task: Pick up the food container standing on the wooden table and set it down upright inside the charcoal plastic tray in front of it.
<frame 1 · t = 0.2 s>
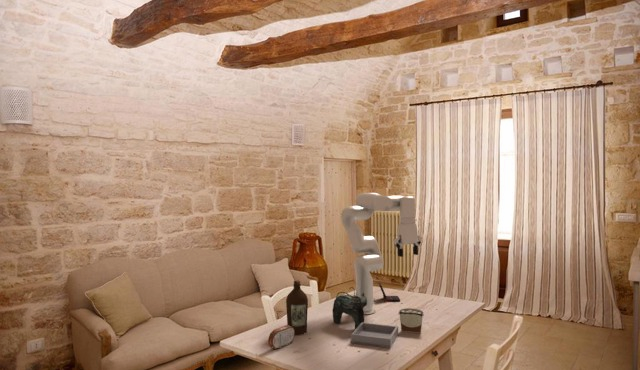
hand: (408, 255, 227), 36 cm above the table, tool pointing down, fingers open, 9 cm apart
olive oil: (297, 332, 222), on the table
teal animal figurine: (348, 326, 230), on the table
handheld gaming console: (389, 300, 279), on the table
tray: (375, 338, 212), on the table
tin: (282, 346, 204), on the table
food container: (411, 330, 224), on the table
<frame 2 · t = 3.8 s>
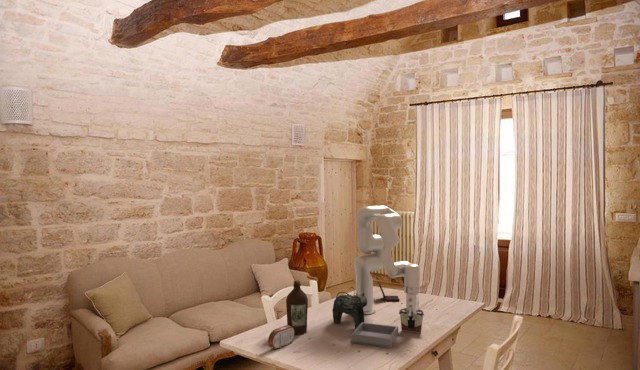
hand: (412, 325, 224), 2 cm above the table, tool pointing down, fingers closed on food container, 5 cm apart
food container: (412, 330, 224), on the table, touching gripper
everything else where it was.
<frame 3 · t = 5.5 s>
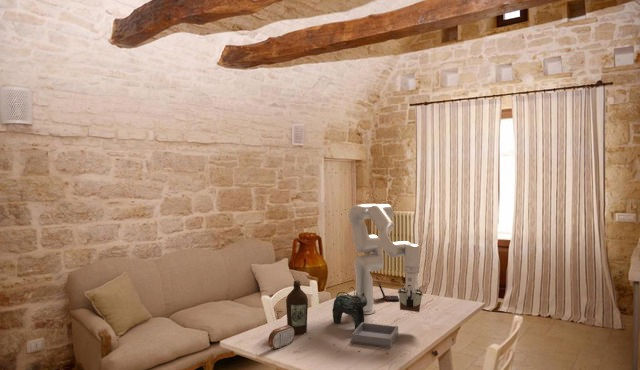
hand: (410, 305, 224), 12 cm above the table, tool pointing down, fingers closed on food container, 5 cm apart
food container: (410, 309, 225), point 10 cm above the table, touching gripper
everything else where it was.
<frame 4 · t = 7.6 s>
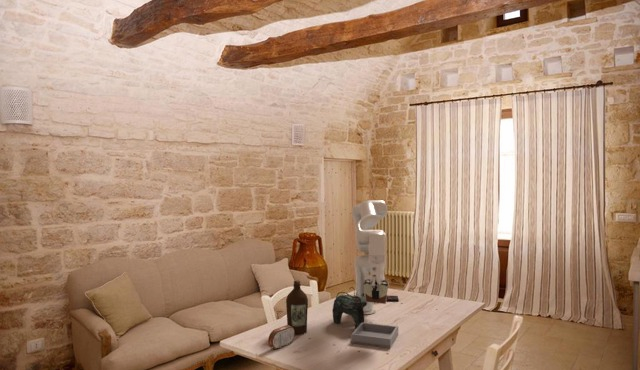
hand: (376, 297, 212), 19 cm above the table, tool pointing down, fingers closed on food container, 5 cm apart
food container: (376, 301, 213), point 17 cm above the table, touching gripper
everything else where it was.
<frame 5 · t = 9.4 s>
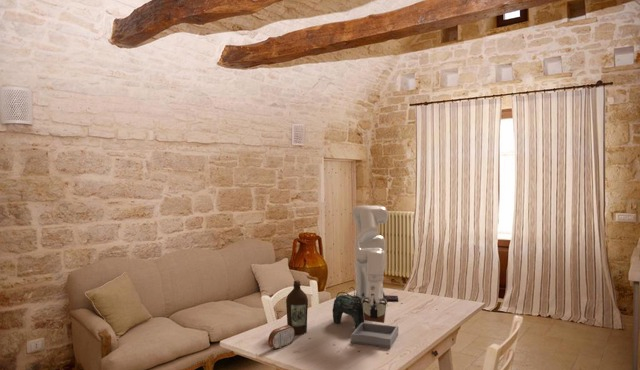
hand: (375, 315, 212), 11 cm above the table, tool pointing down, fingers closed on food container, 5 cm apart
food container: (375, 320, 212), point 9 cm above the table, touching gripper
when the fingers open (4 cm above the table, at t = 11.1 s): food container stays where it is, resting on tray.
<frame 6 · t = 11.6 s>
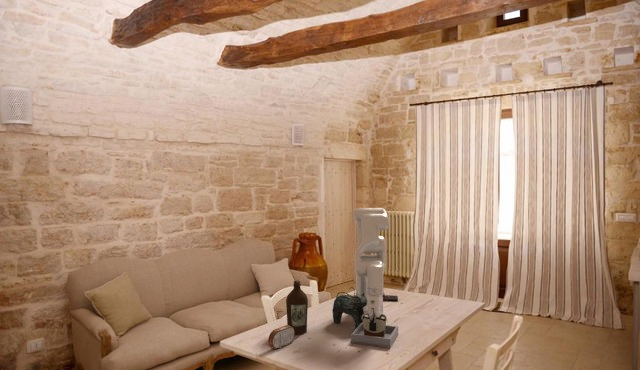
hand: (375, 327, 212), 5 cm above the table, tool pointing down, fingers open, 9 cm apart
food container: (375, 336, 214), point 1 cm above the table, touching tray
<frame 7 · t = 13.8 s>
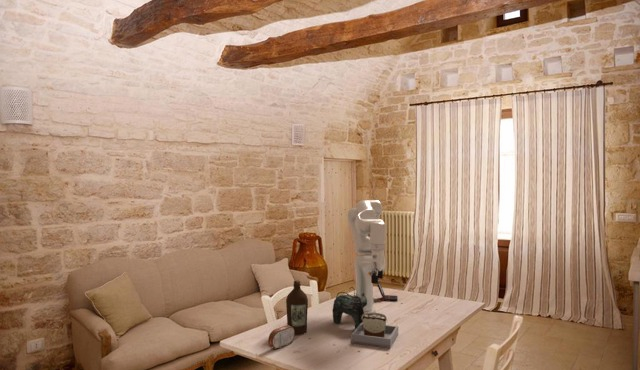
hand: (377, 280, 226), 24 cm above the table, tool pointing down, fingers open, 9 cm apart
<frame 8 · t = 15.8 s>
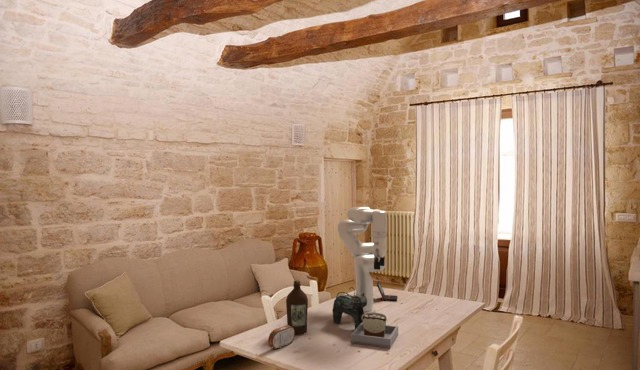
hand: (379, 267, 236), 28 cm above the table, tool pointing down, fingers open, 9 cm apart
at the end: food container inside the target area on the tray (1.4 cm from its centre), point 0.8 cm above the tray's base; food container tilted 0°; the gripper is holding nothing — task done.
